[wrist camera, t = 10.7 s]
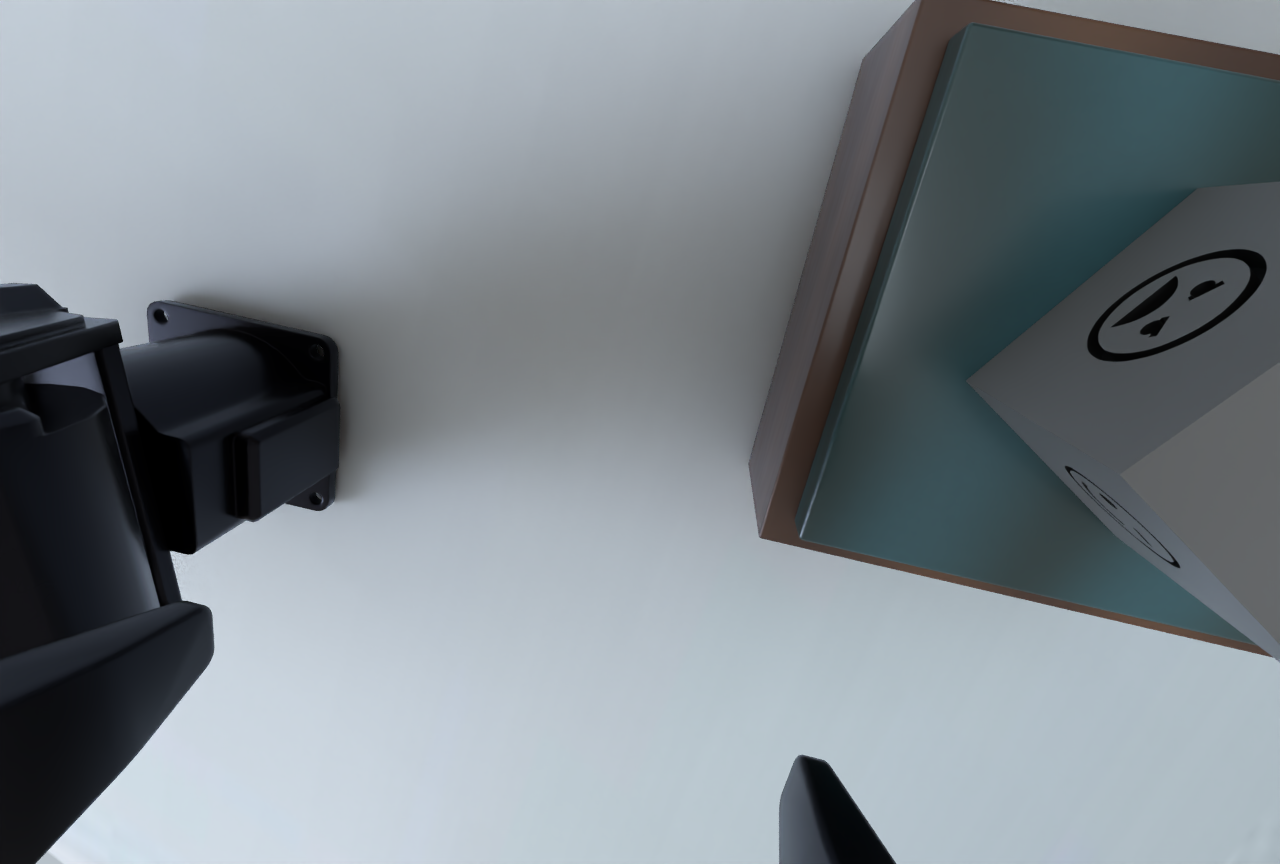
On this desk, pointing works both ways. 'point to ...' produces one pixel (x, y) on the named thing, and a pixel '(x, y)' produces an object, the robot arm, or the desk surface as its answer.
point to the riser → (988, 290)
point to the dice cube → (1170, 399)
